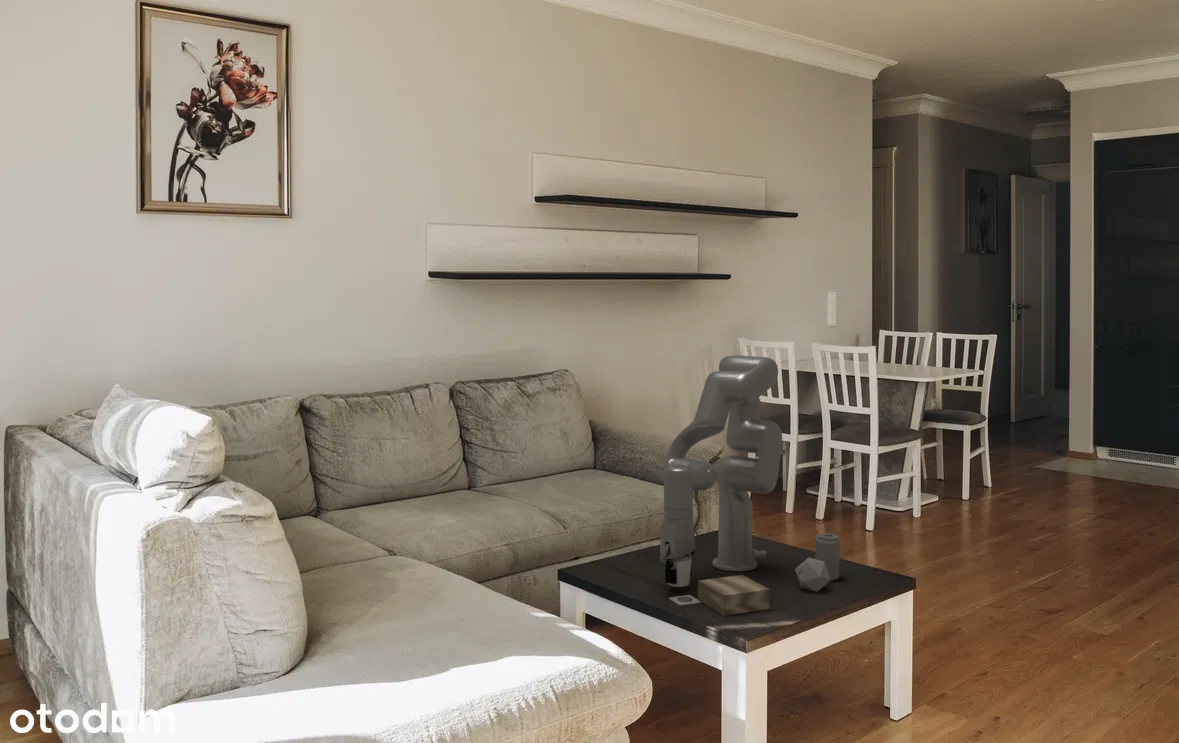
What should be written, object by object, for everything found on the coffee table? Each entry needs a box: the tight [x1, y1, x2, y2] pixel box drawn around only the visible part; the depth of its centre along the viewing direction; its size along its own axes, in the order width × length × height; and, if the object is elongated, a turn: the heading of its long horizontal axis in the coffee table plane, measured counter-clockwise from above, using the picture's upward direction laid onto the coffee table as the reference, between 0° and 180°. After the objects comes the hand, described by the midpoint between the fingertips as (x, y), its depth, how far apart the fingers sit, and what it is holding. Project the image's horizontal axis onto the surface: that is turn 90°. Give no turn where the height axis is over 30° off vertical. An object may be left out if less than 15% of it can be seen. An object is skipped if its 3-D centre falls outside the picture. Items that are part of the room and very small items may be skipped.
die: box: [794, 557, 831, 593], centre depth 257 cm, size 8×9×10 cm
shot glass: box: [667, 554, 692, 588], centre depth 255 cm, size 7×7×7 cm
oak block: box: [697, 574, 771, 617], centre depth 244 cm, size 13×13×5 cm
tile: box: [668, 594, 702, 607], centre depth 247 cm, size 6×6×1 cm
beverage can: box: [814, 532, 841, 582], centre depth 266 cm, size 6×6×12 cm
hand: (678, 579), depth 256 cm, fingers closed on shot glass, 6 cm apart
